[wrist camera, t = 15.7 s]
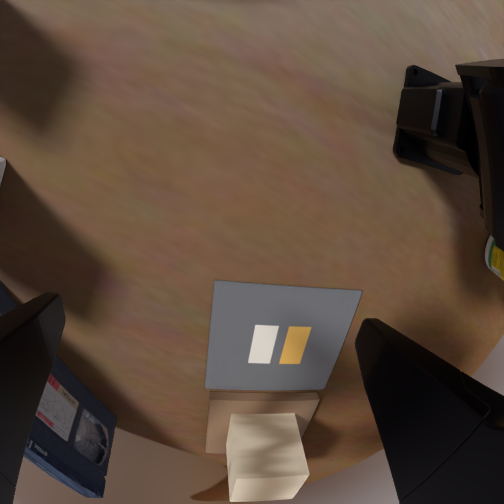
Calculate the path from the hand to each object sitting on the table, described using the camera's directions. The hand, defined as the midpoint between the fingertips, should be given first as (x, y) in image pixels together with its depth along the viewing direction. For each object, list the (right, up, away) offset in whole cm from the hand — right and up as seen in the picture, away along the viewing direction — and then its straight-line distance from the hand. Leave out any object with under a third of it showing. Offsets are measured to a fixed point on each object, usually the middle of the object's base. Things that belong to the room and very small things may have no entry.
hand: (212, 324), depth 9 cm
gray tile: (+3, -5, +16) cm, 17 cm away
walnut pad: (+2, -15, +21) cm, 26 cm away
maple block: (+2, -16, +20) cm, 25 cm away
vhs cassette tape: (-17, -8, +16) cm, 25 cm away
